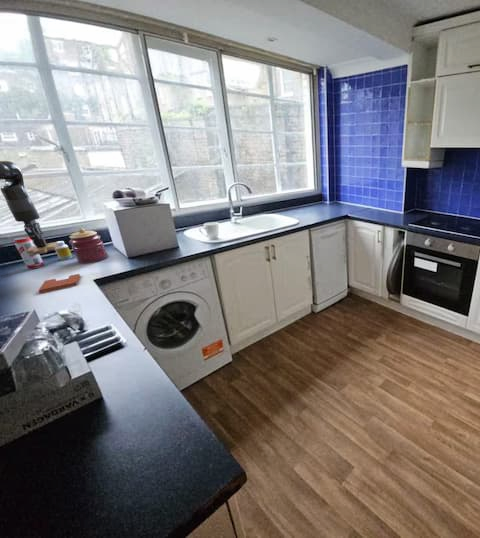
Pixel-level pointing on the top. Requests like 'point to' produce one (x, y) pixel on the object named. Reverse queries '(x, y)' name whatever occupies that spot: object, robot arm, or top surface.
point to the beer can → (29, 259)
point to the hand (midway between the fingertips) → (42, 246)
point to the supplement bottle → (63, 251)
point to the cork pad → (44, 249)
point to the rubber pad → (59, 283)
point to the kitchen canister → (87, 246)
